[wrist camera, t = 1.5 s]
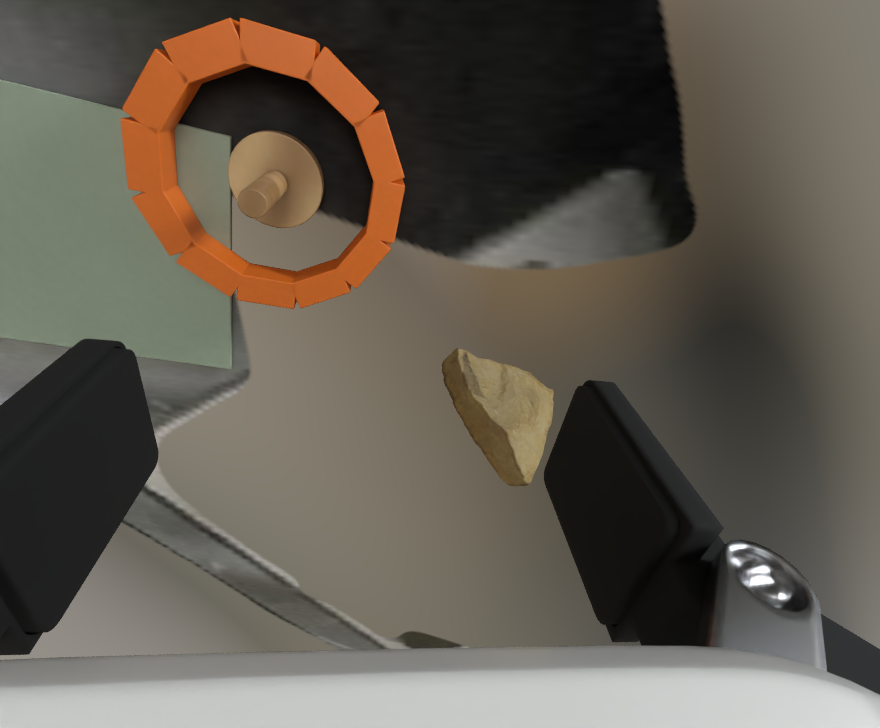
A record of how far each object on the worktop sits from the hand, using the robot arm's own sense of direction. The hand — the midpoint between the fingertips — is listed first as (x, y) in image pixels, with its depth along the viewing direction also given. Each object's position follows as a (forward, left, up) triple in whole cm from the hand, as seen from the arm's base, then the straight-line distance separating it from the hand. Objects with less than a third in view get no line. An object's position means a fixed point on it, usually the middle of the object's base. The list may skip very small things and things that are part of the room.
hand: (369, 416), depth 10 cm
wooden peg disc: (-7, -1, -25) cm, 26 cm away
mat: (-19, -8, -25) cm, 32 cm away
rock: (+13, -14, -25) cm, 32 cm away
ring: (-7, -1, -25) cm, 26 cm away
